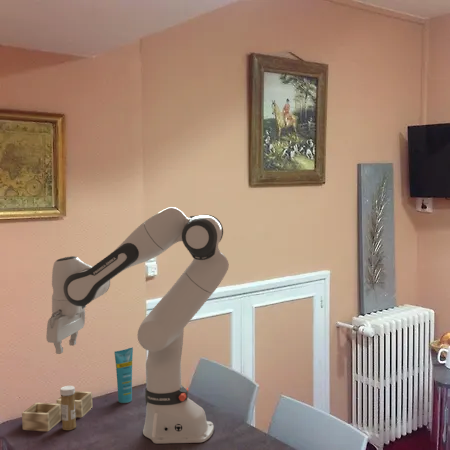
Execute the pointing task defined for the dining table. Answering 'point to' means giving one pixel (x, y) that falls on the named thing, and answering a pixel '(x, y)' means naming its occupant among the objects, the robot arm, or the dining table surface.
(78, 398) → the open wooden box
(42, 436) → the dining table surface
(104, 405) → the dining table surface
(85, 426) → the dining table surface
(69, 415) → the sprinkles bottle
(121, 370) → the tube
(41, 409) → the open square wooden box
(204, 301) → the robot arm
